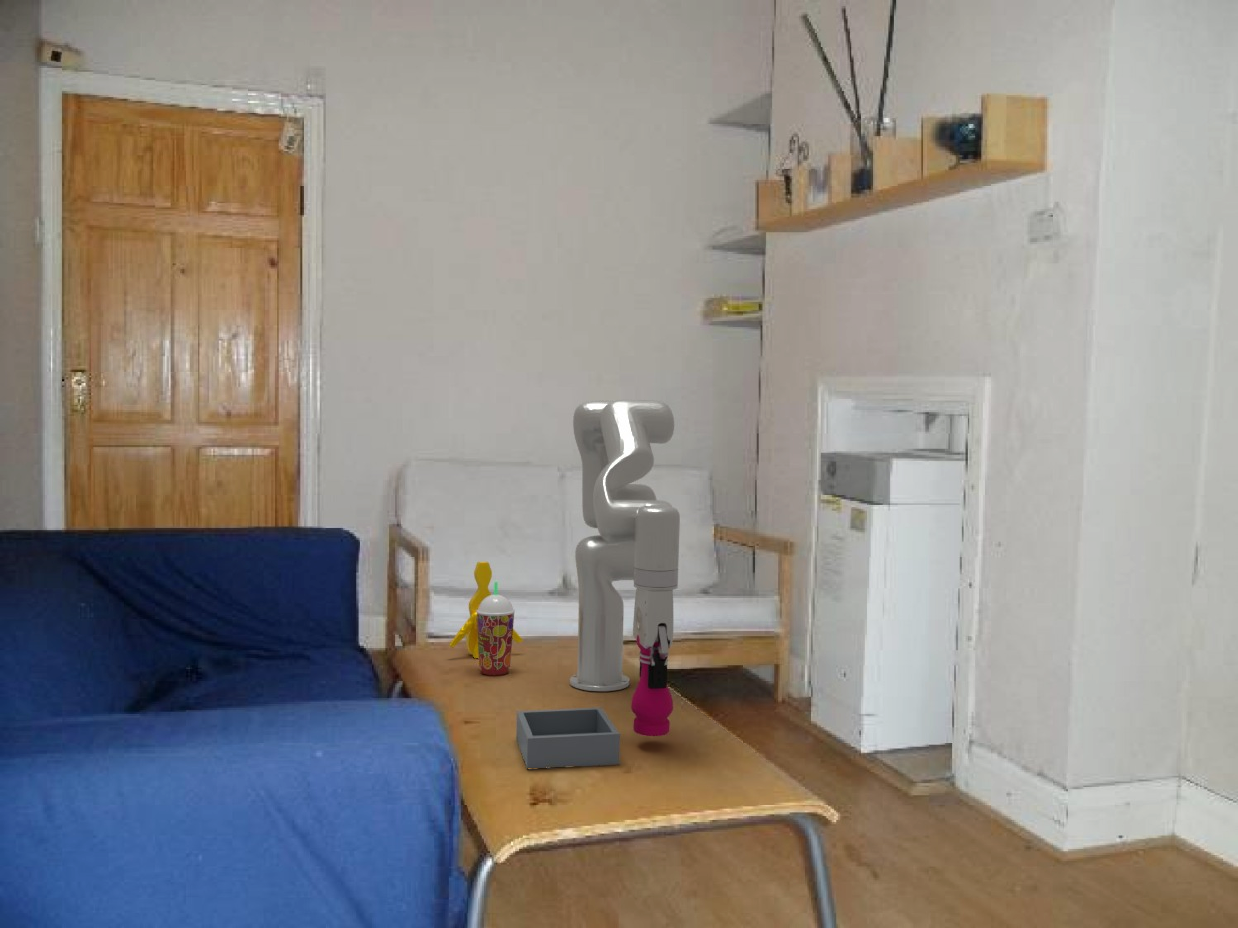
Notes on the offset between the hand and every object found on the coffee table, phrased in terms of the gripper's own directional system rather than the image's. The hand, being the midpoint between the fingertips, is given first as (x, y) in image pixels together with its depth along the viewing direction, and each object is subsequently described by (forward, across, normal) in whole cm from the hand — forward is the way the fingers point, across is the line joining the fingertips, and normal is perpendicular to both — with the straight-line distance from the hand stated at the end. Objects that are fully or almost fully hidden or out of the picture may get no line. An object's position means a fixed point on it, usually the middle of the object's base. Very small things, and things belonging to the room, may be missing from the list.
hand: (652, 682), depth 168 cm
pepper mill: (+9, 0, 0) cm, 9 cm away
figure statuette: (+13, -69, -23) cm, 74 cm away
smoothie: (+13, -53, -22) cm, 59 cm away
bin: (+11, +1, -15) cm, 19 cm away
